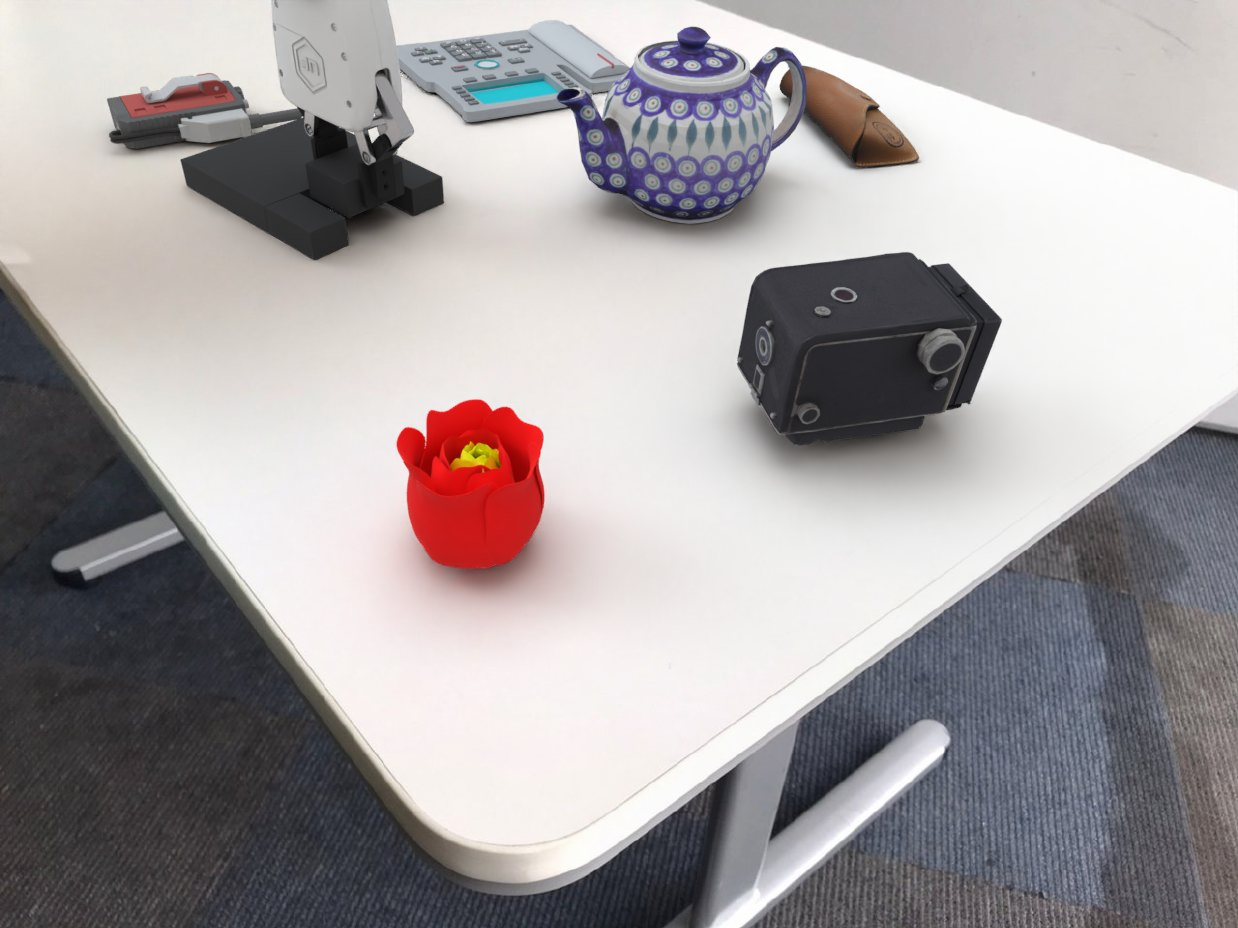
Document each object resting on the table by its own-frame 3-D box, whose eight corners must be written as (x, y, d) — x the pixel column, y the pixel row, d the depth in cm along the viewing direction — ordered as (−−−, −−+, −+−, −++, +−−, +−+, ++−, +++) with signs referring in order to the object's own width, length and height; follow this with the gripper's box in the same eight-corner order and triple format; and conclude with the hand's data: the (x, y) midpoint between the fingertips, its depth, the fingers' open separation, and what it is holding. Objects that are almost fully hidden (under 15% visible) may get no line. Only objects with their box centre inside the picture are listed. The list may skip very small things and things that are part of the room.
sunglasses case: (927, 157, 101) (910, 103, 96) (865, 196, 102) (846, 144, 97) (846, 87, 114) (827, 36, 109) (791, 123, 115) (771, 74, 110)
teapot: (751, 143, 103) (775, -14, 93) (840, 212, 93) (876, 44, 83) (520, 182, 94) (518, 13, 84) (590, 263, 84) (597, 81, 74)
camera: (781, 500, 65) (990, 446, 68) (795, 359, 57) (1030, 305, 60) (721, 399, 73) (911, 354, 75) (726, 262, 65) (938, 218, 67)
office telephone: (570, 12, 122) (658, 70, 110) (570, 34, 124) (656, 94, 111) (385, 34, 113) (457, 101, 100) (387, 58, 114) (458, 127, 102)
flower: (409, 598, 56) (396, 493, 51) (407, 502, 62) (394, 398, 56) (551, 585, 57) (552, 481, 52) (536, 492, 63) (536, 389, 58)
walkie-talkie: (119, 164, 92) (334, 126, 101) (105, 117, 89) (327, 81, 98) (100, 127, 98) (305, 93, 106) (86, 81, 95) (298, 50, 103)
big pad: (314, 260, 82) (310, 232, 80) (186, 186, 90) (179, 159, 88) (444, 202, 90) (442, 176, 88) (316, 139, 98) (312, 114, 97)
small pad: (348, 218, 83) (344, 184, 81) (310, 196, 85) (305, 163, 83) (405, 194, 87) (402, 161, 85) (366, 174, 89) (362, 141, 87)
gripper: (212, -59, 75) (257, 172, 87) (362, -1, 67) (389, 243, 80) (296, -76, 80) (328, 145, 92) (446, -24, 72) (460, 210, 84)
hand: (356, 188), depth 85 cm, fingers closed on small pad, 5 cm apart
